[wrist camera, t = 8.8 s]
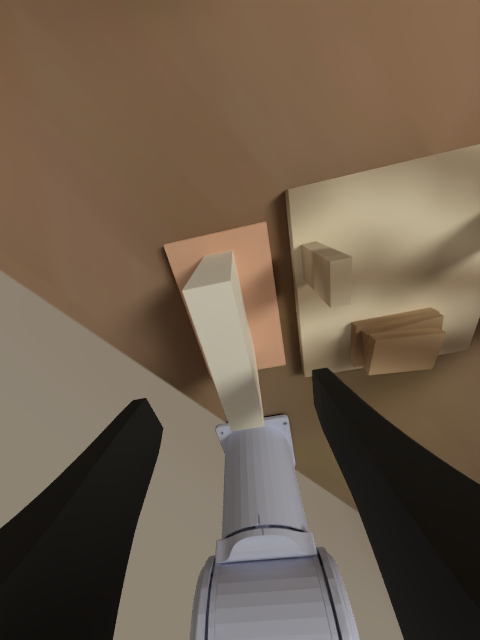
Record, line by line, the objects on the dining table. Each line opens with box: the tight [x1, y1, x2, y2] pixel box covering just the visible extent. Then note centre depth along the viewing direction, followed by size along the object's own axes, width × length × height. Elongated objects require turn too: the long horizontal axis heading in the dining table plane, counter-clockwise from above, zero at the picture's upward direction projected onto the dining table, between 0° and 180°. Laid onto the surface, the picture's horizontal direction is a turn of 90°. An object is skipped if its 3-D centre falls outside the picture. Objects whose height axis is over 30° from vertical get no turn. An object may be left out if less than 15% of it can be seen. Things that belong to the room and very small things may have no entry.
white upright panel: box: [182, 250, 265, 431], centre depth 14 cm, size 2×9×7 cm, turn 12°
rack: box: [285, 144, 480, 377], centre depth 14 cm, size 15×14×6 cm
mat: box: [163, 221, 286, 378], centre depth 17 cm, size 12×7×1 cm, turn 12°
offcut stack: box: [350, 307, 446, 375], centre depth 17 cm, size 4×6×2 cm
